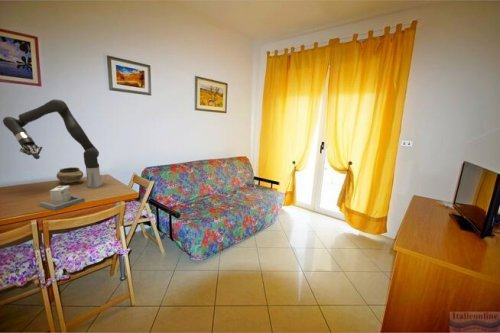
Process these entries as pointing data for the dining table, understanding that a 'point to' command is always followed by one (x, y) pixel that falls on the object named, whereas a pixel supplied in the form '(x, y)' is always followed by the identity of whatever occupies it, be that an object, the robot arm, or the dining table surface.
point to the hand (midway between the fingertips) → (38, 158)
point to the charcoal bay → (63, 205)
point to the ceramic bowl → (70, 175)
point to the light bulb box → (60, 195)
